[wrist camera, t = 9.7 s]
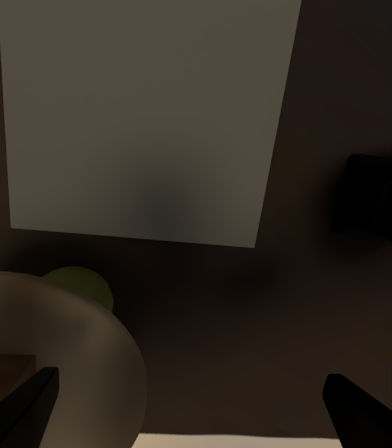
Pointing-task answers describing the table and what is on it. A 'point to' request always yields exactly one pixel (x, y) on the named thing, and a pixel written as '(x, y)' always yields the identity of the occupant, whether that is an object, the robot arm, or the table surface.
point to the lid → (72, 361)
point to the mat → (143, 114)
